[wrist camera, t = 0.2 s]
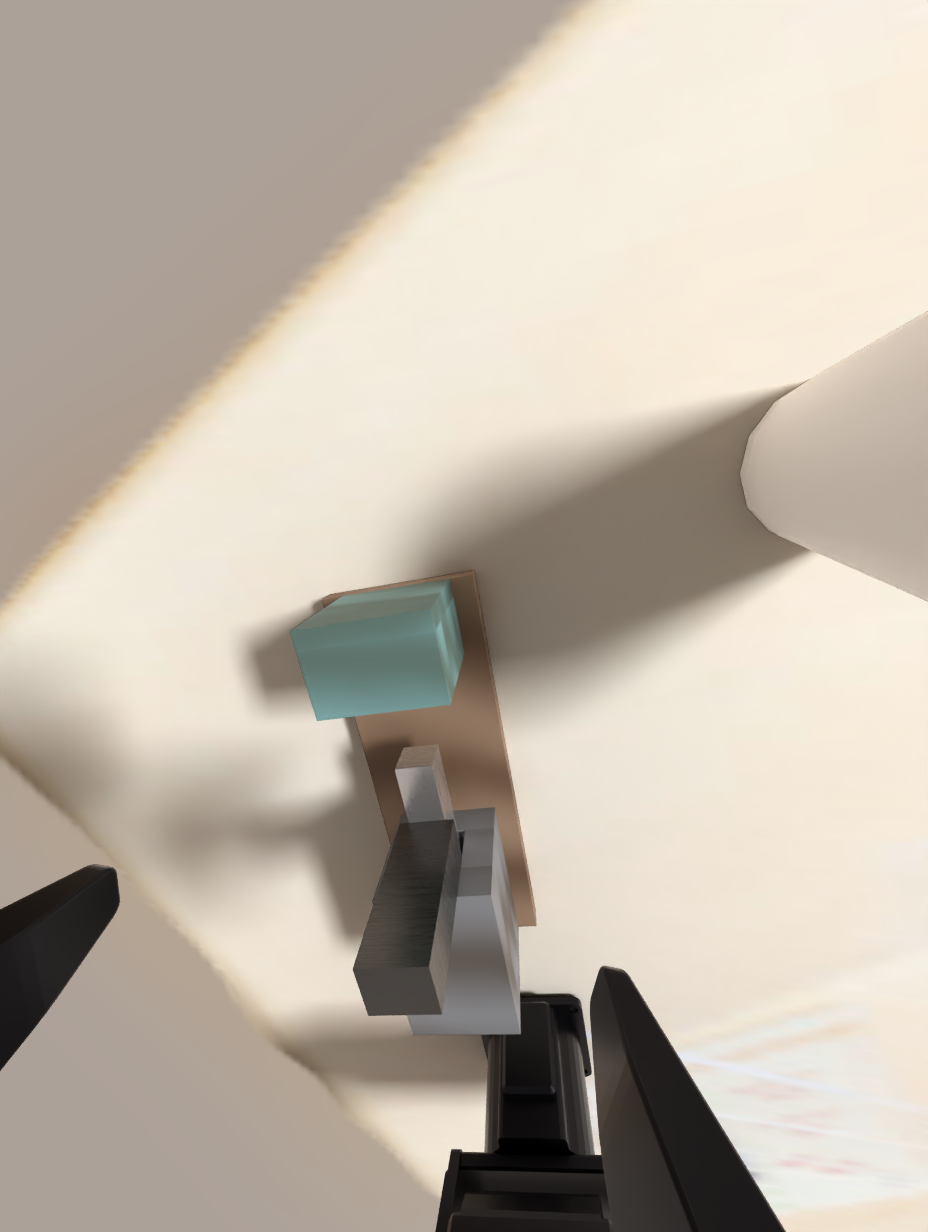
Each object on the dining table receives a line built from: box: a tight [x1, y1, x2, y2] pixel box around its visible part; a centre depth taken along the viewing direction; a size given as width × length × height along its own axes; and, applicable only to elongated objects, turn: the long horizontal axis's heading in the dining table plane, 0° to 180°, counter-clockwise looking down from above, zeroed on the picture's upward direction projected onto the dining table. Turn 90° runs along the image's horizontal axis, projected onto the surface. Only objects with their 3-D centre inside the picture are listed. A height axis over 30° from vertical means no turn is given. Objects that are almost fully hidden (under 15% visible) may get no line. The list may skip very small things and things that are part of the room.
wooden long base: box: [290, 570, 536, 1035], centre depth 20 cm, size 20×7×6 cm, turn 10°
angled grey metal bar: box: [353, 744, 463, 1016], centre depth 18 cm, size 13×2×8 cm, turn 10°
